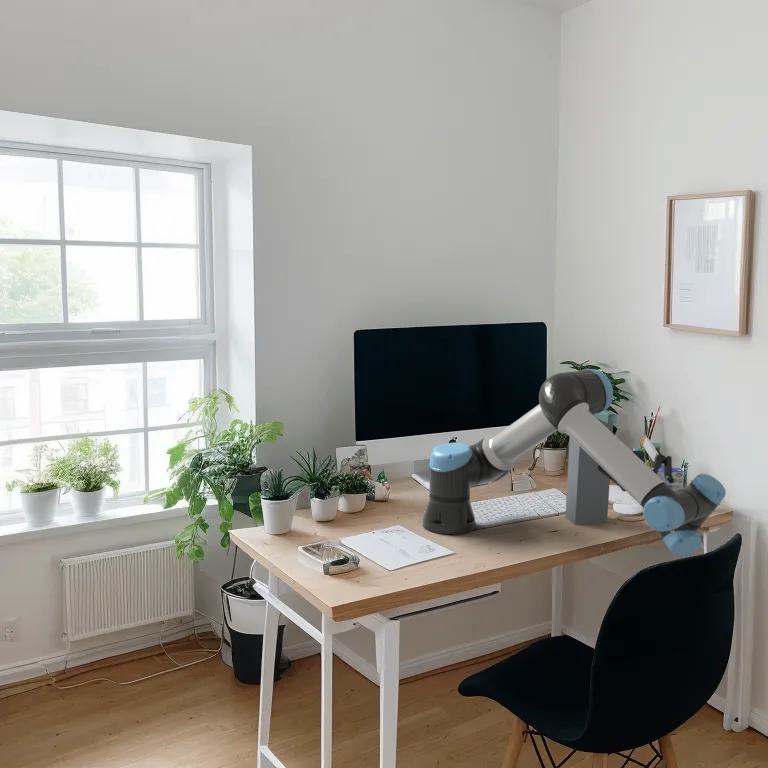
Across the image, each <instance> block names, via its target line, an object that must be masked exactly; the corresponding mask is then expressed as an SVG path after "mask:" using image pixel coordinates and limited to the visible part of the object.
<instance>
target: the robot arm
mask: <svg viewBox="0 0 768 768" xmlns="http://www.w3.org/2000/svg"><path fill="white" fill-rule="evenodd" d="M613 396H614V388H613V385H612V382H611V380H610V378H609V377H608V376H607V374H605V373H604V372H603V371H601V370H598V369H594V368H593V369H592V368H591V369H590V368H584V369H582V370H575V371H569V372H568V371H566V372H559V373H555V374H552V375H551V376H549V377H548V378H547V379H546V380H545V381H544V382H543V383H542V385H541V386H540V390H539V394H538V403H539V404H537V405H536V406H535V407H533V408H532V409H530V410H529V411H528V412H526V413H525V414H523V415H522V416H521V417H520V418H518V419H517V420H516V421H514V422H513V423H511V424H510V425H509V426H507V427H506V428H504V429H503V430H501V431H500V432H499V433H497V434H496V433H490V434H488V435H485V437H483V438H482V439H481V440H479V441H478V442H475V443H474V444H471V445H469V444H467V443H464V442H445V443H442V444H439V445H437V446H435V447H433V449H432V450H431V453H430V460H429V498H428V502H427V504H426V506H425V511H424V513H423V516H422V527H423V528H425V530H428V531H430V532H433V533H436V534H441V535H442V534H443V535H460V534H467V533H470V532H472V531H473V530H474V529H475V528H476V517H475V514H474V510H473V506H472V503H471V487H474V486H478V485H483V484H487V483H490V482H492V483H493V482H497V481H499V480H501V479H504V478H505V477H506V476H507V475H509V473H510V472H511V470H512V468H513V466H514V465H515V462H516V459H518V457H520V456H521V455H523V454H525V453H526V452H527V451H529V450H531V449H532V448H534V447H535V446H537V445H538V444H539V443H541V442H542V441H544V440H545V439H547V438H548V437H550V436H551V435H553V434H554V433H556V432H559V433H560V434H567V436H569V438H570V437H571V438H572V439H573V440H574V441H575V442H576V443H577V444H578V445H579V446H580V447H581V448H582V449H583V450H584V451H585V452H586V453H587V454H588V455H590V456H591V457H592V458H593V459H594V460H595V461H596V462H597V463H598V467H597V469H598V470H599V471H600V472H602V473H603V474H604V475H606V476H607V477H608V478H609V479H610V481H612V482H613V483H615V484H616V485H618V487H619V488H620V489H621V491H623V492H627V494H629V495H630V497H632V499H634V500H635V501H636V502H637V503H638V505H640V506H641V507H642V508H643V511H642V514H643V515H642V516H643V518H644V520H645V523H646V524H647V526H648V527H650V528H651V529H652V530H654V531H657V532H658V533H659V536H660V538H661V539H662V541H663V543H664V545H665V546H667V548H668V549H669V551H670V552H671V553H672V554H674V555H676V556H680V557H681V556H688V555H690V554H692V553H694V552H695V551H697V550H698V549H699V547H700V546H701V542H702V538H701V536H700V533H699V532H698V531H699V529H701V527H702V525H703V524H704V523H705V522H706V520H707V519H708V518H709V517H710V515H712V514H713V512H715V510H716V508H717V507H718V506H720V505H721V502H722V501H723V500H724V499H725V498H726V495H727V494H726V493H727V491H726V488H725V487H724V484H722V482H720V481H719V480H718V479H717V478H716V477H714V476H712V475H711V474H710V475H709V474H707V473H698V474H697V475H696V476H695V477H694V478H693V479H692V480H691V481H690V483H689V484H688V485H687V486H685V487H683V488H682V489H679V490H676V491H674V490H673V489H672V488H671V487H672V485H673V482H674V478H673V476H672V468H673V466H672V465H673V461H672V460H673V459H672V456H670V455H667V456H665V455H663V454H662V453H661V452H660V450H659V449H658V448H657V447H655V446H654V445H653V443H652V441H651V440H650V438H649V437H645V439H644V441H643V444H642V447H643V448H644V450H645V451H646V452H647V454H648V456H649V457H650V459H651V460H652V462H653V463H654V462H655V465H654V467H653V468H654V469H653V471H652V470H651V469H650V468H651V467H650V466H648V465H647V464H646V463H645V461H644V462H643V461H642V460H640V459H639V458H638V457H637V456H636V455H635V454H634V453H633V452H632V451H633V450H631V449H630V448H629V447H628V446H627V445H626V444H625V443H623V441H621V440H620V439H619V438H618V436H616V435H615V434H614V432H613V433H612V432H611V431H610V430H609V429H607V428H606V427H605V426H604V425H603V424H602V423H601V422H600V421H599V420H598V419H597V418H596V417H595V416H594V415H593V414H594V413H601V412H603V411H605V410H608V408H610V406H611V405H612V401H613V399H614V398H613ZM662 463H663V466H664V480H663V479H662V478H660V477H659V476H658V475H657V473H658V471H659V468H660V466H661V464H662Z"/></svg>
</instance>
